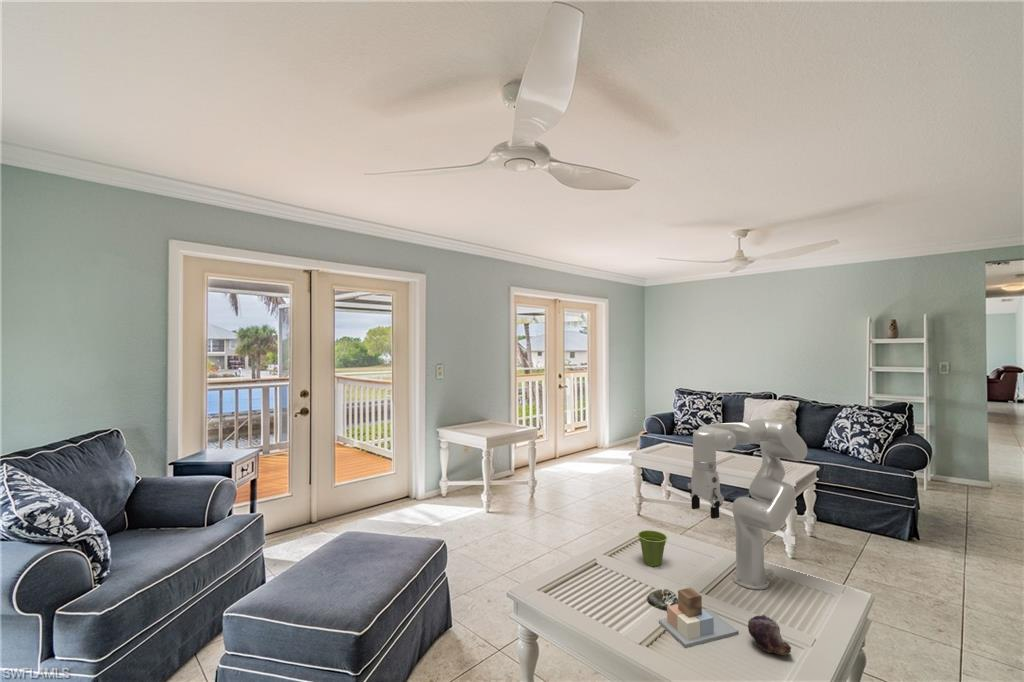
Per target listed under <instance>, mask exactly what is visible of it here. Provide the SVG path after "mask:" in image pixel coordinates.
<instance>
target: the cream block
mask: <svg viewBox="0 0 1024 682" xmlns="http://www.w3.org/2000/svg"><path fill="white" fill-rule="evenodd" d="M677 631H678V632H680V633H681V634H682V635H683V636H684V637H685V638H686V639H687V640H688V639H692V638H696V637H700V620H699V619H698V618H696V617H695V616H694V617H690V618H688V617H687V616H686V615H685V614H679V615H677Z"/></svg>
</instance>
